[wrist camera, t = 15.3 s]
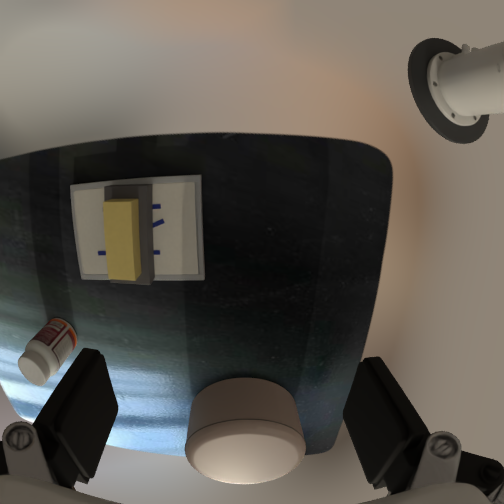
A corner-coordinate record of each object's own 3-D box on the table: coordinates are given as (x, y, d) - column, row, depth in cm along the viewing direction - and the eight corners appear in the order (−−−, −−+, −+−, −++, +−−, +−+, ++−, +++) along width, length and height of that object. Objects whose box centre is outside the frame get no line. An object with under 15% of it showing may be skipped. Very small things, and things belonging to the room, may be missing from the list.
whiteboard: (201, 174, 35) (200, 174, 34) (205, 277, 38) (204, 280, 37) (73, 184, 34) (69, 185, 33) (84, 276, 37) (81, 279, 36)
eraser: (112, 184, 33) (94, 188, 28) (152, 183, 33) (139, 187, 29) (117, 275, 36) (102, 290, 32) (155, 277, 37) (144, 293, 32)
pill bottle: (44, 327, 40) (9, 363, 29) (59, 310, 39) (22, 347, 28) (67, 353, 41) (38, 393, 30) (85, 338, 40) (54, 380, 29)
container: (282, 358, 43) (295, 413, 31) (303, 425, 48) (315, 473, 37) (174, 383, 43) (161, 437, 32) (213, 444, 48) (211, 491, 37)
